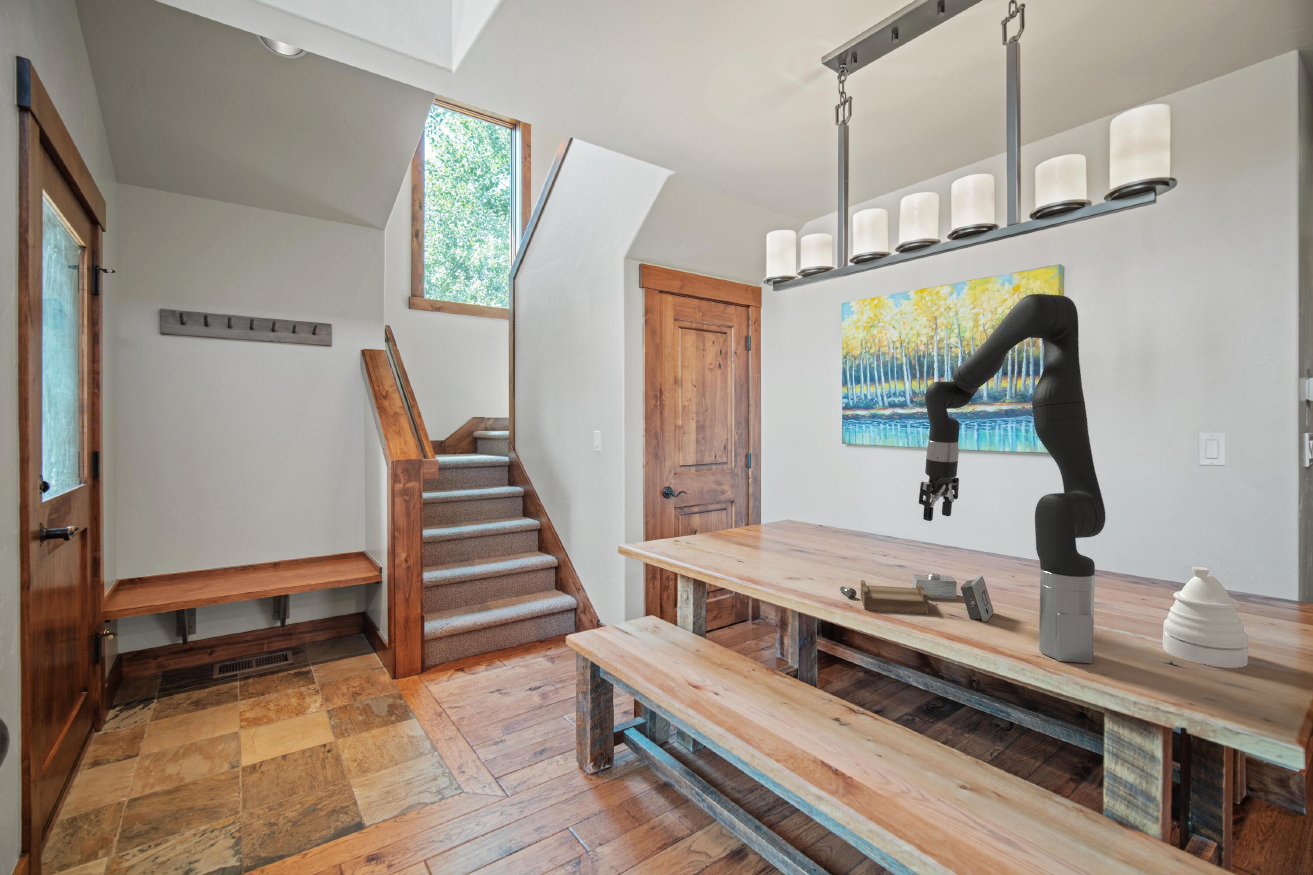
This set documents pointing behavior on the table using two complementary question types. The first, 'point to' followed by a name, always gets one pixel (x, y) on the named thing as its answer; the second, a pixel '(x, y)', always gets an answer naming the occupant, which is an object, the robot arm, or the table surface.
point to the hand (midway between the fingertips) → (937, 517)
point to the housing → (937, 585)
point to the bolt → (848, 592)
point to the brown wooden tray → (894, 598)
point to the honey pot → (1206, 624)
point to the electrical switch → (977, 599)
